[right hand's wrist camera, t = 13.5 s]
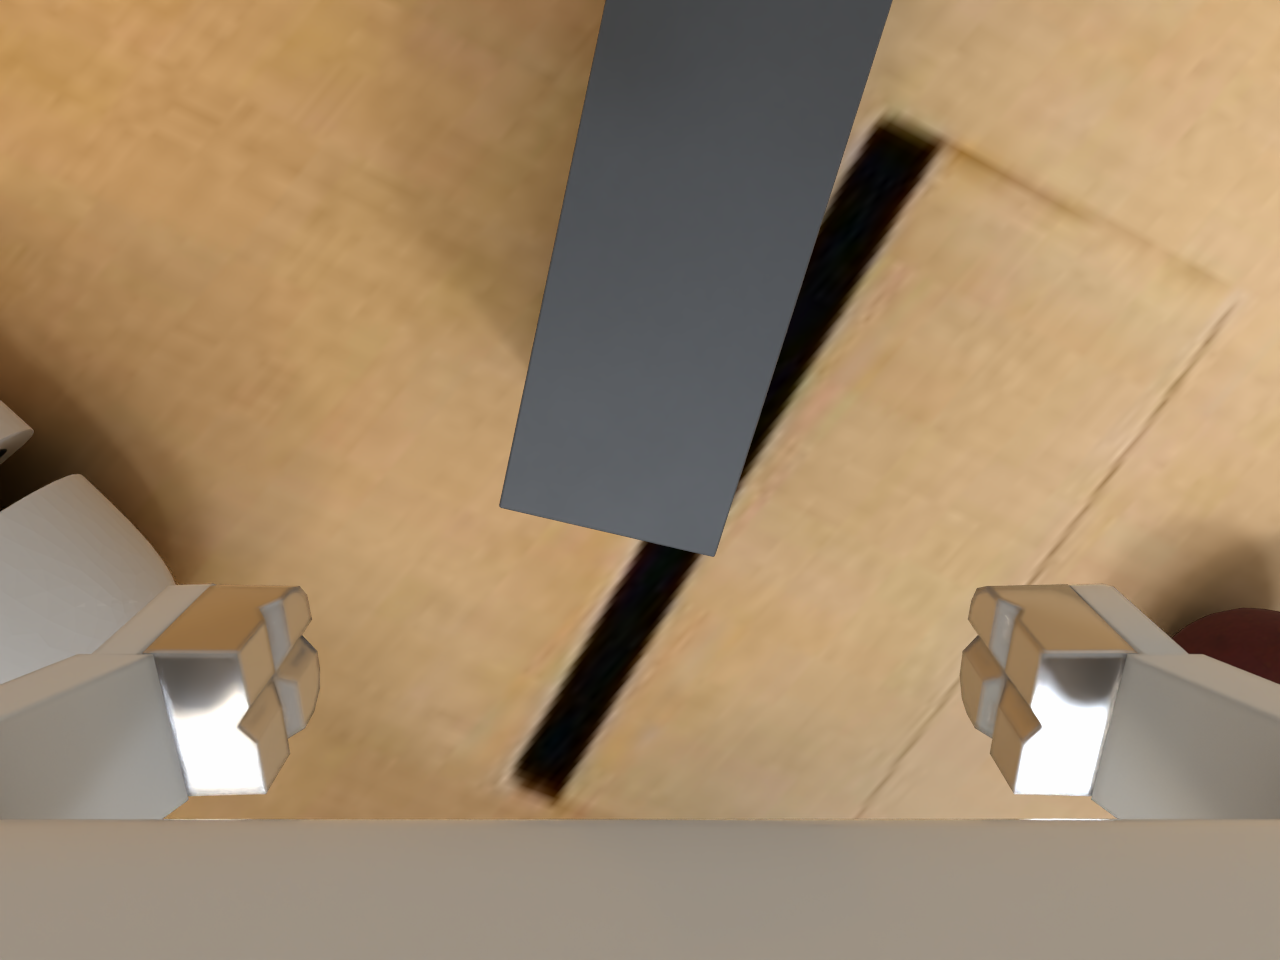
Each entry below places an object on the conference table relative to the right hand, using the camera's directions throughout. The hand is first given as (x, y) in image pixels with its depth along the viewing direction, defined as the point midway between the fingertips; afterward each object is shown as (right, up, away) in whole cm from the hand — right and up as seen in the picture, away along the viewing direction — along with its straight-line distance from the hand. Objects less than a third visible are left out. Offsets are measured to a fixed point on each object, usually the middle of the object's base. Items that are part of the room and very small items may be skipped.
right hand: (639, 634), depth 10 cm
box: (+2, +14, +18) cm, 23 cm away
